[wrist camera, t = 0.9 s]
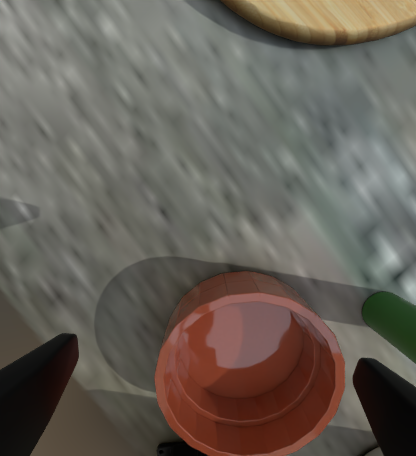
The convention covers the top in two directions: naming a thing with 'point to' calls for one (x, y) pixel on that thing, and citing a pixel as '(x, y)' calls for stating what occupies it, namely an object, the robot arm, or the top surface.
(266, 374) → the pot
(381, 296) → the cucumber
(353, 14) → the wooden plate
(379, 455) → the cylinder vase
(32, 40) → the top surface
